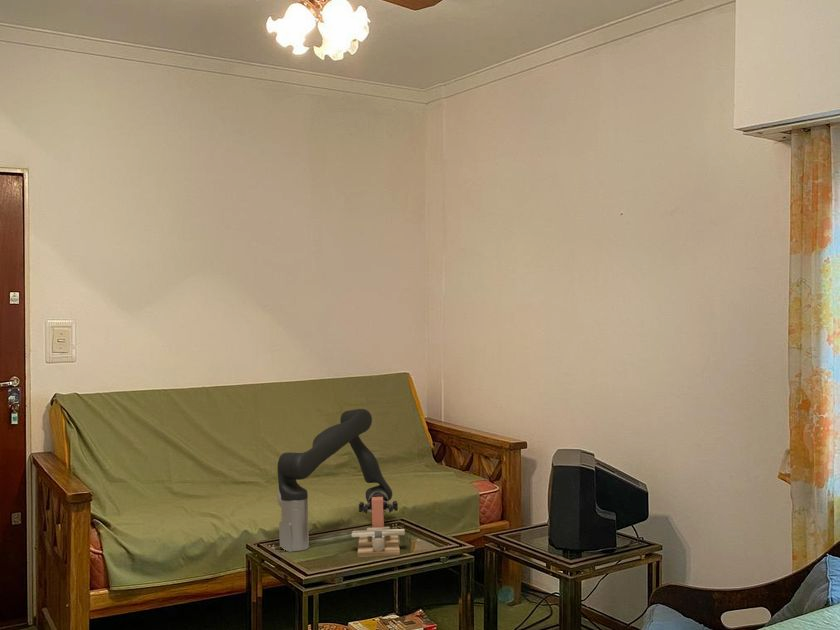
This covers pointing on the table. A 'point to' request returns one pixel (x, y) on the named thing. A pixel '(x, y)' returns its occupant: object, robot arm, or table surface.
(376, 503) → the terracotta rectangular block
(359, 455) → the robot arm
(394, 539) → the jig
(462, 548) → the table surface
